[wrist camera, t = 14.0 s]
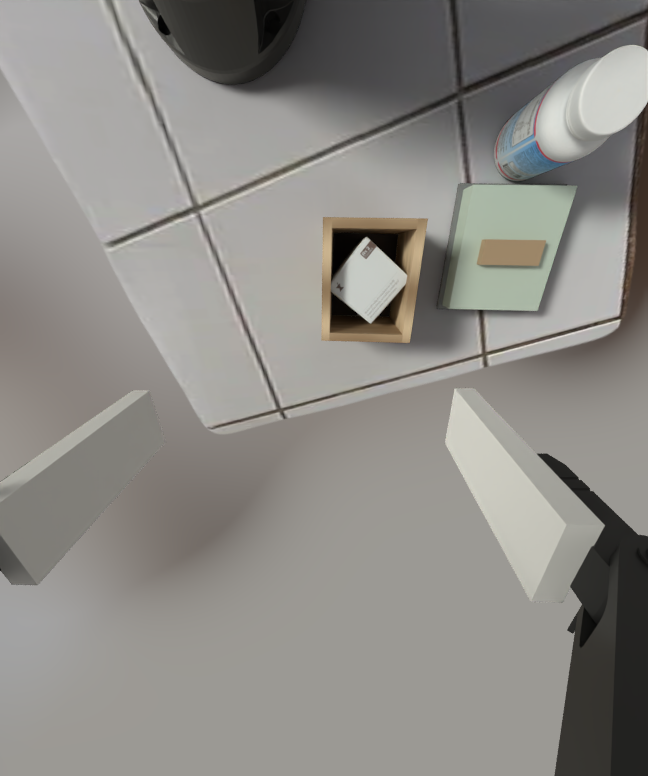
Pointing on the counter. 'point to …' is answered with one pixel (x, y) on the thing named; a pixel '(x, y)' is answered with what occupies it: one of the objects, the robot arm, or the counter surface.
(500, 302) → the lid
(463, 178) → the counter surface
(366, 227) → the box
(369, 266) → the skincare box
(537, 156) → the pill bottle
